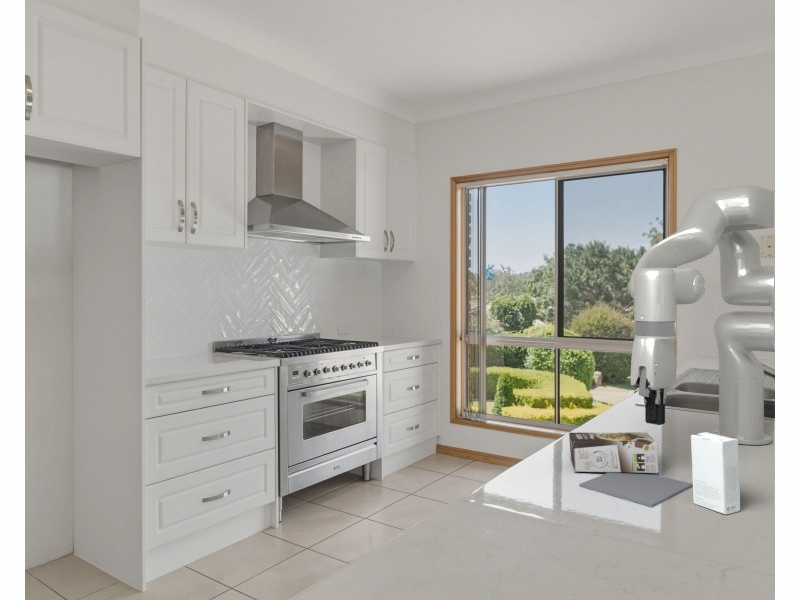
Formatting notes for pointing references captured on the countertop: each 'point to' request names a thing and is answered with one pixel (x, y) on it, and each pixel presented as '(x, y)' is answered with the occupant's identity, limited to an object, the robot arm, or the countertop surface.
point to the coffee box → (614, 452)
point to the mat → (637, 487)
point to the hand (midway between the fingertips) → (655, 423)
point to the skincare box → (715, 472)
